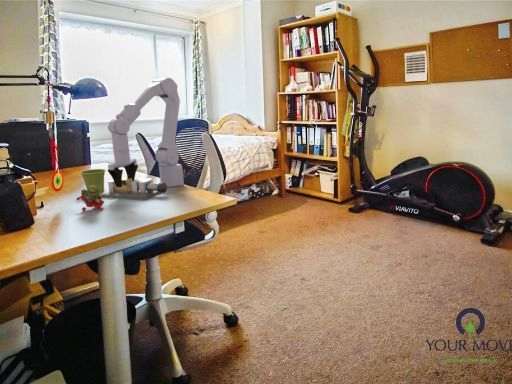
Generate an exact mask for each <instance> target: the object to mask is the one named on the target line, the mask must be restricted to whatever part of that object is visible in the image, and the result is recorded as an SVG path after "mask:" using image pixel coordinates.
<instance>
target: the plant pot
mask: <svg viewBox="0 0 512 384" xmlns="http://www.w3.org/2000/svg"><path fill="white" fill-rule="evenodd" d="M79 173H80V175H81V176H82V178H83V181H84V185H85V188H86V190H88V187H89V186H91V185H95V186H97V187H98V188H99V191H100V193H101V194H102V192H104V191H105V175H106V169H105V168H95V169H93V168H92V169H87V170H82V171H80V172H79Z"/></svg>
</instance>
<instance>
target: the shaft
mask: <svg viewBox="0 0 512 384" xmlns="http://www.w3.org/2000/svg"><path fill="white" fill-rule="evenodd" d="M138 187H139V183H138ZM139 190H140V189H139ZM167 190H168V187H167V185H166V183H162V182H158V183H153V184H149V183H146V191H158V192H159V194H165V193H166V192H167Z"/></svg>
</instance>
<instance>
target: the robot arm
mask: <svg viewBox="0 0 512 384" xmlns="http://www.w3.org/2000/svg"><path fill="white" fill-rule="evenodd" d="M157 96H158V97H159V98H160V99H161V100H162V101H163V103H165V109H164V110H165V111H164V119H163V120H164V121H163V129H162V135H161V142H160V143H159V144H158V148H157V149H156V151H155V153H154V154H155V155H154V157H155V160H156V161H157V162H158V171H159V180H160V182H162V183H166V185H167V188H171V187H181V186H185V183H184V182H185V181H184V171H183V165H182V164H181V163H178V161H179V159H180V155H179V152H178V151H179V147H178V146H177V144H176V137H177V127H178V121H179V120H178V119H179V118H178V117H179V111H180V104H181V102H180V101H181V100H180V96H179V93H178V84H177V83H176V81H175V80H174V79H173V78H171V77H164V78H156V79H153V81H152V82H150V83H149V84H148V85H147V87H146V88H145V89H144V91H143V92H142V93H141V94H140V95H139V96H138V97H137V98H136V100H135V101H134V103H128V104H125V105H124V106H123V110H121V112H120V113H118V114H116V115H115V118H114V119H111V120H110V121H109V122H108V126H107V129H108V131H109V132H110V133H111V141H112V150H113V158H114V161H112V163H109V164H107V172H108V173H109V176H111V178H112V180H114V182H115V185H116V187H122V178H123V173H124V170H125V172H126V173H125V174H126V178H132V180H133V181H134V180H136V173H137V170H138V168H139V164H137V163H138V162H137V158H131V153H130V146H129V137H128V132H129V131H130V128H131V125H132V124H133V123H134V122H135V121H136V120H137V119H138V118H139V117H140V116H141V112H142V111H141V110H142V109H143V108H144V107H145V106H146V105H147V104H148V103H149V102H150V101H151V100H152V99H153V98H154V97H157ZM120 168H124V169H120ZM160 182H159V183H160Z"/></svg>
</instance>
